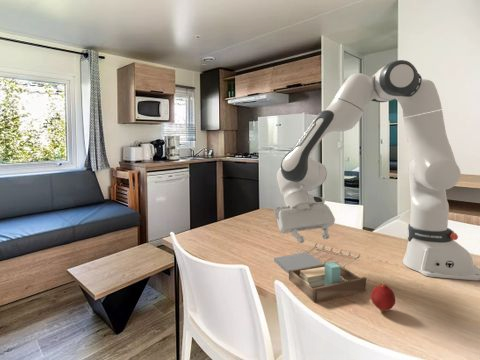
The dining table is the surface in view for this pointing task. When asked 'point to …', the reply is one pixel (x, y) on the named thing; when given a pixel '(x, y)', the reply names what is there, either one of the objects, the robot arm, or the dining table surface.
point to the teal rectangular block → (332, 273)
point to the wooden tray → (332, 290)
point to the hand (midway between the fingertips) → (314, 240)
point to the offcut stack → (314, 276)
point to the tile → (297, 261)
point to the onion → (383, 297)
